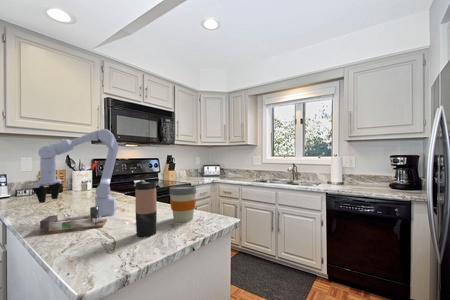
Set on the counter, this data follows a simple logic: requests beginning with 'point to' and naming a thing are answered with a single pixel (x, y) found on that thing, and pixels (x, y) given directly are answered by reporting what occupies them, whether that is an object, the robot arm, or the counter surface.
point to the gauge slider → (95, 214)
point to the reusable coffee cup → (183, 202)
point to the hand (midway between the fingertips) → (48, 200)
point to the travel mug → (145, 208)
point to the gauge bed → (67, 225)
